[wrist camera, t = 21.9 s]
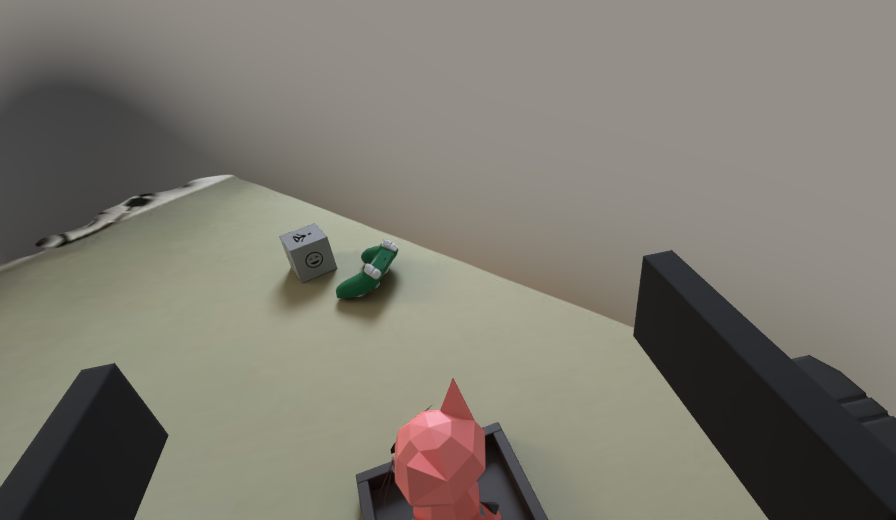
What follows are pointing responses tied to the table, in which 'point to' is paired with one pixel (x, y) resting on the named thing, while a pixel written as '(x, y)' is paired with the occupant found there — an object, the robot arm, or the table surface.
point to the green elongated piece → (369, 270)
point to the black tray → (495, 484)
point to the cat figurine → (442, 463)
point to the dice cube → (308, 252)
